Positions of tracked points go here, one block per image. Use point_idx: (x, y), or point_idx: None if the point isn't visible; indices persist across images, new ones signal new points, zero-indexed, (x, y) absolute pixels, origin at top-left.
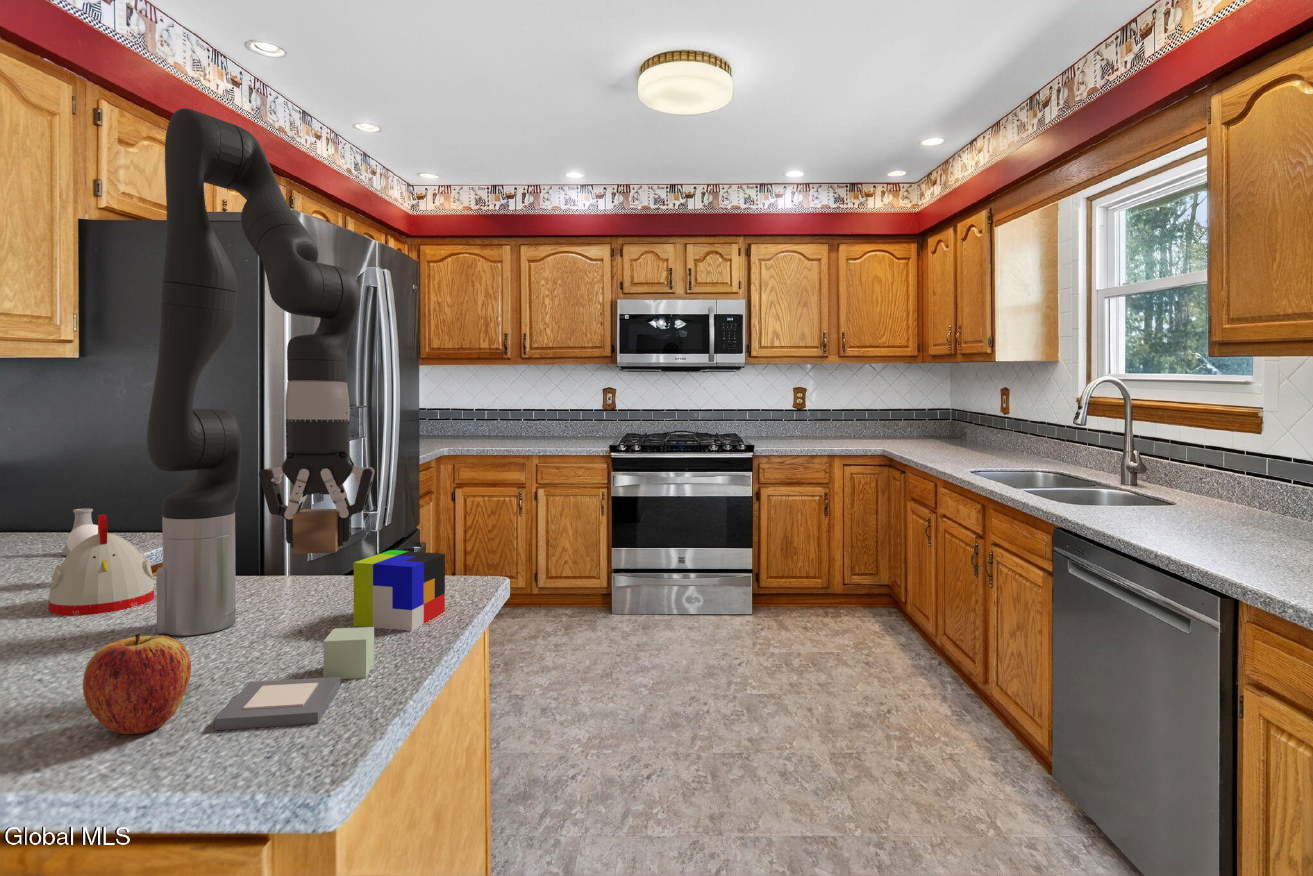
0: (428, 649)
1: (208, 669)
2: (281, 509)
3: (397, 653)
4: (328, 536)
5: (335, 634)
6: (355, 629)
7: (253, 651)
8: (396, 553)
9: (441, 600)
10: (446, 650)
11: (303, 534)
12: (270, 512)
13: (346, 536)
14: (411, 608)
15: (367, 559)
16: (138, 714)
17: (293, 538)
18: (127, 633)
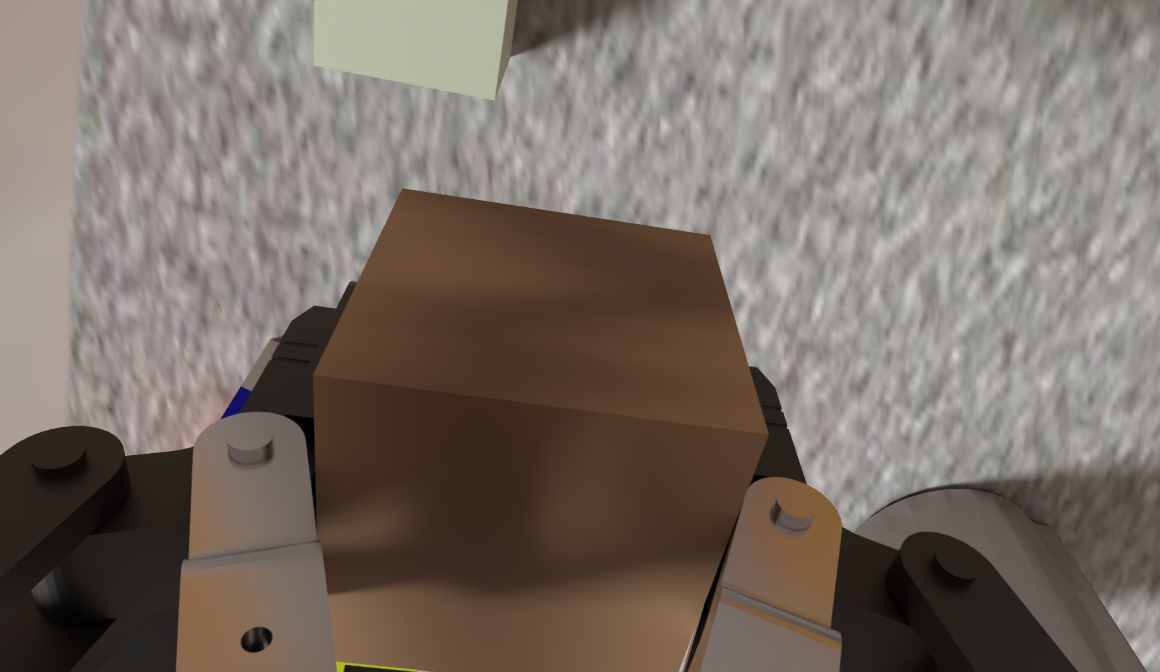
0: (166, 120)
1: (933, 166)
2: (878, 590)
3: (282, 114)
4: (434, 259)
5: (477, 2)
6: (394, 54)
7: (789, 299)
8: None
9: None
10: (87, 84)
11: (646, 302)
12: (975, 556)
13: (310, 330)
14: (240, 391)
15: (397, 668)
16: None
17: (724, 293)
18: (1123, 557)
